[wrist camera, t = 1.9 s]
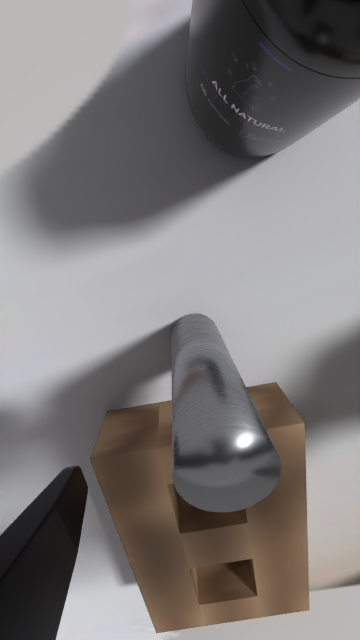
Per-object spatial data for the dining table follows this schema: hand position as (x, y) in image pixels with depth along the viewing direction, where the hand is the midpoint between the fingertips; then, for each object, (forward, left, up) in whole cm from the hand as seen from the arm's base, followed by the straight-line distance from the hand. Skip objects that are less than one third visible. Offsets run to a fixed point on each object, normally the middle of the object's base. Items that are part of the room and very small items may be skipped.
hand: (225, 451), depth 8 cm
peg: (0, 0, -9) cm, 9 cm away
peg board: (+1, +14, -9) cm, 16 cm away
